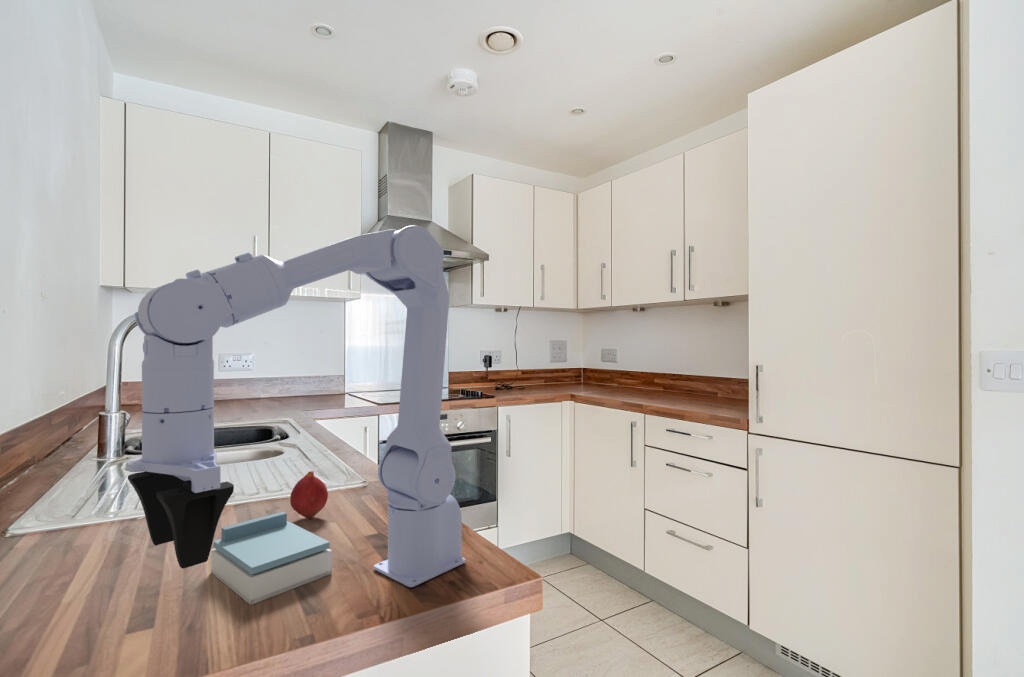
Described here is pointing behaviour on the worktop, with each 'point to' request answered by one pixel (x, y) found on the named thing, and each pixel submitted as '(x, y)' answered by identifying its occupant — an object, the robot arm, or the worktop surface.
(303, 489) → the onion
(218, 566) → the box
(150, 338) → the robot arm
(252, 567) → the lid
